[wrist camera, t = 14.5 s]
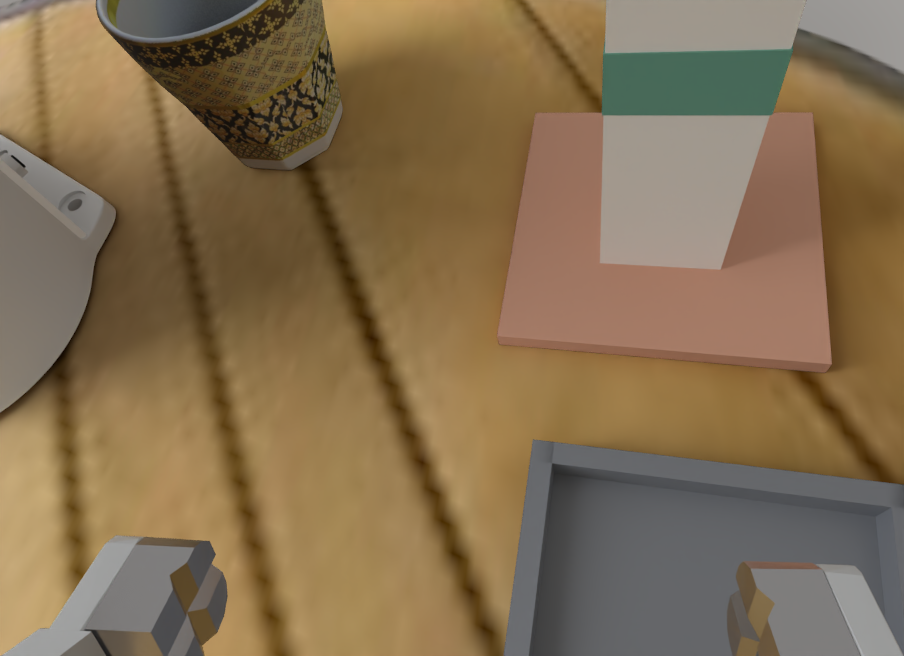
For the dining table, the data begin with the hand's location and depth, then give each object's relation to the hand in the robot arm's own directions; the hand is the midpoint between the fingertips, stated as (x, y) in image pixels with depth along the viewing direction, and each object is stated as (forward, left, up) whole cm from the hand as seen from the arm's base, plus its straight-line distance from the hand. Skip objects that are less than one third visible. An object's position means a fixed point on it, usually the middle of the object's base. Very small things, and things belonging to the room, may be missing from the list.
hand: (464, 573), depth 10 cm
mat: (-8, +16, -15) cm, 24 cm away
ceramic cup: (-30, +9, -15) cm, 35 cm away
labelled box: (-8, +16, -14) cm, 23 cm away
